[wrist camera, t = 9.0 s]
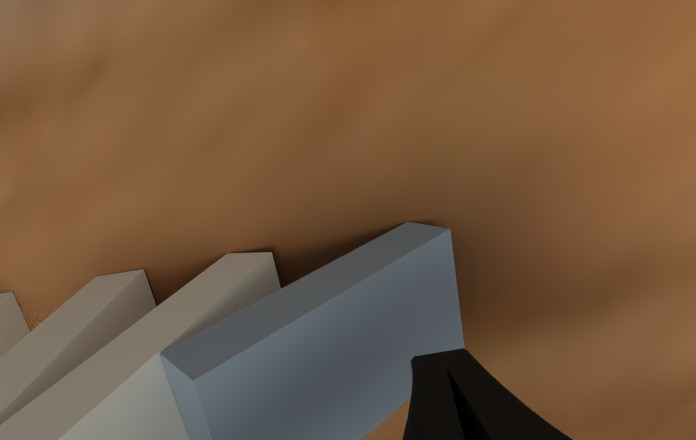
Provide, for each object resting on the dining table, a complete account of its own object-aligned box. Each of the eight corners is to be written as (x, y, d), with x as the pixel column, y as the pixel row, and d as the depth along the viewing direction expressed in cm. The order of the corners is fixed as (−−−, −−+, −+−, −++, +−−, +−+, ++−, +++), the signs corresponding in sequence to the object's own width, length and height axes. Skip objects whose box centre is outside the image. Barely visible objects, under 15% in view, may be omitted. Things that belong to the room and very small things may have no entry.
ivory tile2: (271, 252, 16) (28, 465, 9) (300, 366, 18) (115, 638, 10) (227, 253, 17) (-36, 452, 9) (258, 363, 19) (53, 616, 11)
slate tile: (450, 228, 16) (192, 381, 10) (464, 350, 17) (246, 540, 12) (407, 221, 17) (159, 353, 12) (424, 335, 18) (211, 499, 13)
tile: (143, 269, 17) (-69, 483, 9) (181, 378, 19) (31, 653, 10) (95, 276, 17) (-162, 495, 9) (136, 384, 19) (-50, 660, 10)
